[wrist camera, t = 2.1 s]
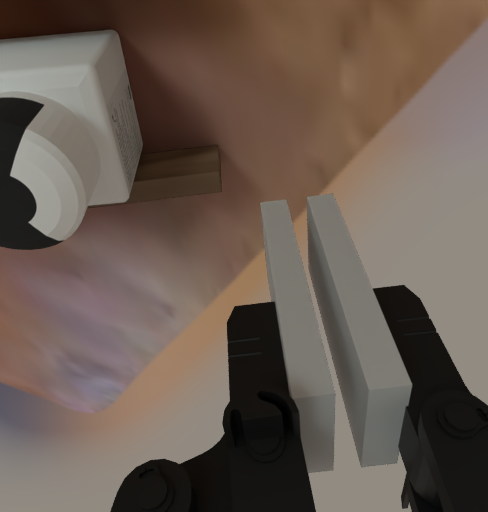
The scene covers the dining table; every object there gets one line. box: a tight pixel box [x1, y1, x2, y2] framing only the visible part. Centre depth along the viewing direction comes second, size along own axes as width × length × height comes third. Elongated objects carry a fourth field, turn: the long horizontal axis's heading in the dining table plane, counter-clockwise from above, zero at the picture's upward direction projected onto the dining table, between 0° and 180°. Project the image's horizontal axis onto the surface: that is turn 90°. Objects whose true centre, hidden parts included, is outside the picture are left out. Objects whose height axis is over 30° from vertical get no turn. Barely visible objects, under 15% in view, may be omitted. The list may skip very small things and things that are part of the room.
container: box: [0, 30, 143, 250], centre depth 25 cm, size 8×8×13 cm
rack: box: [87, 145, 222, 208], centre depth 28 cm, size 14×15×4 cm
